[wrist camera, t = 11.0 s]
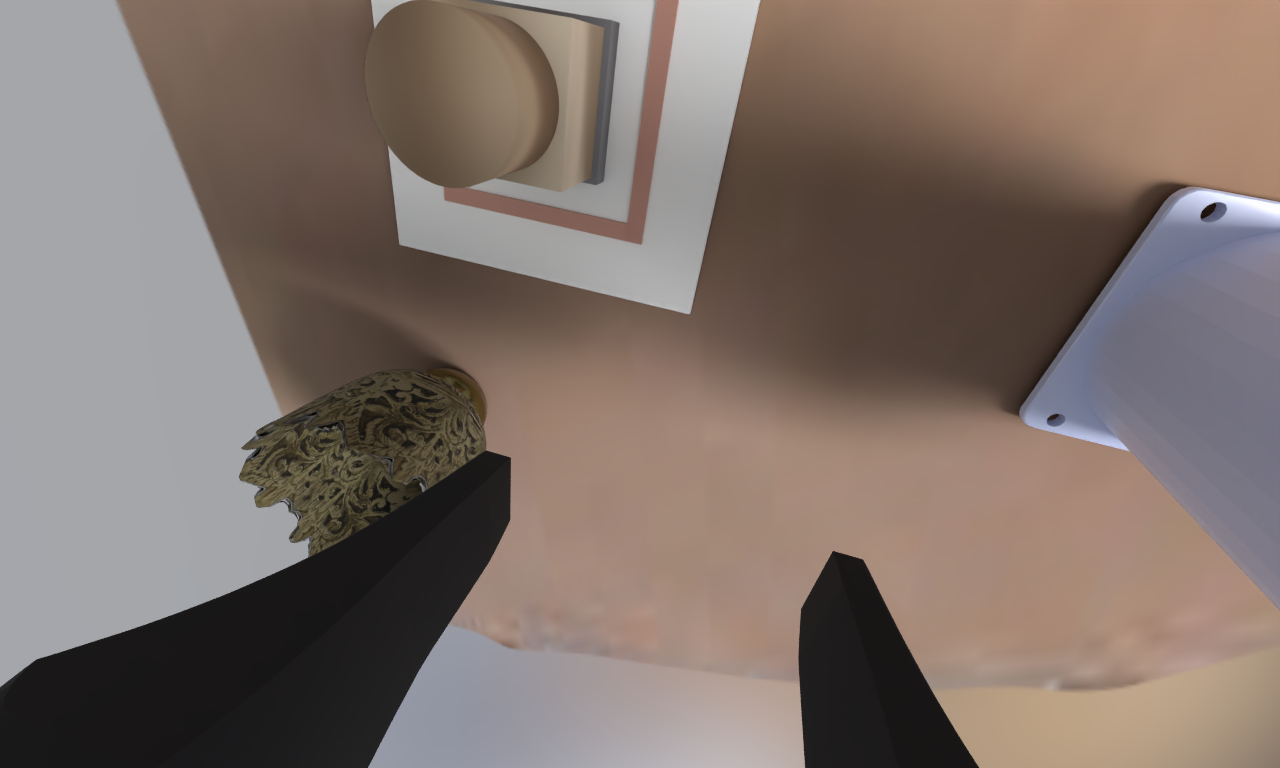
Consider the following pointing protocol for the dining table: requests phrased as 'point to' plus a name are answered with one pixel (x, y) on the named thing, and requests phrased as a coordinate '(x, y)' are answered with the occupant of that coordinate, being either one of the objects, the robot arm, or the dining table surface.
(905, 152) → the dining table surface
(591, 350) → the dining table surface
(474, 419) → the cup
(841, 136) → the dining table surface
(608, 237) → the card sheet
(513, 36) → the stamp
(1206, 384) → the robot arm
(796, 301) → the dining table surface
